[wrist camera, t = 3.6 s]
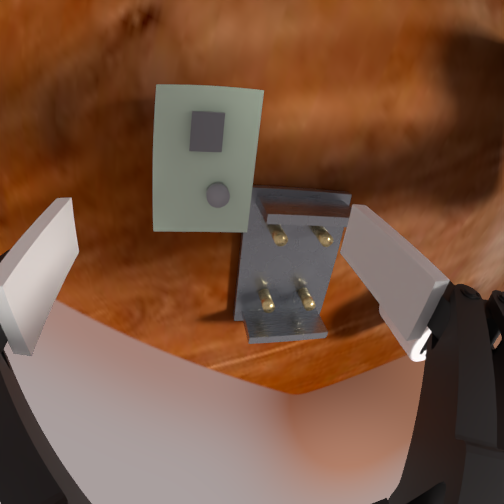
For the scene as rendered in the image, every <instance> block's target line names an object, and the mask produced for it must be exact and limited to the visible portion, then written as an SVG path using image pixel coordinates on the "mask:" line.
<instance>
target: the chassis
mask: <svg viewBox="0 0 504 504" xmlns="http://www.w3.org/2000/svg"><path fill="white" fill-rule="evenodd" d="M351 196H352V195H351V194H350V193H349V192H345V191H335V190H323V189H312V188H299V187H285V186H269V185H253V186H252V195H251V203H250V212H249V221H248V229H247V232H242V233H241V243H240V252H239V262H238V271H237V281H236V291H235V301H234V311H233V318H234V321H243V322H244V326H245V330H246V335H247V339H248V343H249V344H252V343H269V342H283V341H296V340H307V339H318V338H326V336H327V334H328V331H327V329H326V327H325V325H324V323H323V321H322V319H321V317H320V315H319V314H320V311H321V308H322V304H323V301H324V298H325V294H326V291H327V288H328V284H329V281H330V277H331V274H332V270H333V267H334V263H335V259H336V256H337V252H338V248H339V244H340V241H341V237H342V233H343V229H344V227H347V225H348V221H349V217H350V213H351V209H352V208H351V207H349V204H350V200H351Z"/></svg>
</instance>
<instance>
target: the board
mask: <svg viewBox="0 0 504 504" xmlns="http://www.w3.org/2000/svg"><path fill="white" fill-rule="evenodd" d="M263 95H264V90H256V89H246V88H235V87H222V86H205V85H172V84H156V96H155V113H154V134H153V231H174V232H247V229H248V221H249V212H250V203H251V195H252V186H253V178H254V170H255V161H256V153H257V145H258V136H259V128H260V120H261V112H262V103H263Z"/></svg>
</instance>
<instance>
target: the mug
mask: <svg viewBox="0 0 504 504" xmlns="http://www.w3.org/2000/svg"><path fill="white" fill-rule="evenodd" d="M379 313H380V315H381V317H382V318H383V320H384V321H385V323H386V324H387V325H388V327H389V328H390V330H391V331H392V333H393V334H394V336H395V337H396V339H397V340H398V341H399V343H400V344H401V346H402V347H403V349H404V350H405V352H406V353H407V355H408V356H409V358H410V359H411V360H412V361H415V362H419V361H423V360H425V359H426V356H425V355H426V350H425V351H424V352H423V353H422V354H420V351H421V349H422V348H423V346H424V344H425V343H426V341H427V339H428V337H429V336H430V334H431V330H430V329H429V328H428V326H427V327H426V329H425V331H424V333H423V335H422V336H421V338H420V339H415V340H410V341H406V340H405V339H404V337H403V336H402V334H401V333H400V332H399V330H398V329H397V327H396V326H395V325H394V323H393V322H392V320H391V319H390V318H389V316H388V315H387V314H386V312H385V311H384V309H383V308H382V307H381V305H379Z"/></svg>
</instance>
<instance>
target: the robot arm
mask: <svg viewBox="0 0 504 504" xmlns="http://www.w3.org/2000/svg"><path fill="white" fill-rule="evenodd" d="M78 253H79V248H78V242H77V236H76V229H75V222H74V215H73V206H72V197H71V198H56V200H55V201H54V202H53V203H52V204H51V205H50V206H49V207H48V208H47V209H46V210H45V211H44V212H43V213H42V214H41V215H40V216H39V217H38V219H37V220H36V221H35V222H34V223H33V224H32V225H31V226H30V227H29V229H28V230H27V231H26V232H25V233H24V234H23V235H22V237H21V238H20V239H19V240H18V241H17V243H16V244H15V245H14V246H13V247H12V249H11V250H8V251H6V252H5V253H4V254H2V255H1V256H0V502H1V504H91V502H90V501H89V500H88V499H87V497H86V496H85V495H84V493H83V492H82V491H81V489H80V488H79V487H78V485H77V484H76V483H75V481H74V480H73V478H72V477H71V476H70V474H69V473H68V471H67V470H66V468H65V467H64V465H63V464H62V462H61V461H60V459H59V458H58V456H57V455H56V453H55V451H54V450H53V448H52V446H51V445H50V443H49V441H48V440H47V438H46V436H45V435H44V433H43V431H42V430H41V427H40V426H39V424H38V422H37V420H36V418H35V416H34V415H33V413H32V411H31V409H30V407H29V405H28V403H27V401H26V399H25V397H24V394H23V392H22V390H21V388H20V386H19V384H18V381H17V379H16V377H15V374H14V372H13V370H12V367H11V365H10V362H9V360H8V357H7V355H6V353H5V351H4V347H5V345H6V343H7V341H8V343H9V345H10V347H11V349H12V351H13V353H14V354H20V355H27V356H32V354H33V351H34V349H35V346H36V343H37V341H38V339H39V336H40V334H41V331H42V329H43V326H44V324H45V322H46V319H47V317H48V315H49V312H50V310H51V308H52V306H53V303H54V301H55V299H56V297H57V295H58V293H59V291H60V289H61V287H62V284H63V282H64V280H65V278H66V276H67V274H68V272H69V270H70V268H71V266H72V265H73V263H74V261H75V259H76V257H77V255H78ZM340 253H341V255H342V256H343V257H344V258H345V260H346V261H347V262H348V263H349V265H350V266H351V267H352V269H353V270H354V271H355V272H356V274H357V275H358V276H359V278H360V279H361V280H362V282H363V283H364V284H365V285H366V287H367V288H368V289H369V291H370V292H371V293H372V295H373V296H374V297H375V299H376V300H377V301H378V303H379V304H380V305H381V307H382V308H383V309H384V311H385V312H386V314H387V315H388V316H389V318H390V319H391V320H392V322H393V323H394V325H395V326H396V327H397V329H398V330H399V332H400V333H401V334H402V336H403V337H404V339H405V340H406V341H410V340H415V339H420V338H421V336H422V335H423V333H424V331H425V329H426V327H427V326H428V328H429V329H430V330H431V334H430V336H429V337H428V339H427V341H426V343H425V344H424V346H423V348H422V349H421V351H420V354H422V353H423V352H424V351H425V350H426V355H425V356H426V359H425V367H424V375H423V382H422V388H421V394H420V400H419V406H418V412H417V416H416V421H415V426H414V431H413V435H412V439H411V444H410V448H409V452H408V455H407V459H406V463H405V467H404V470H403V474H402V477H401V480H400V483H399V485H398V487H397V488H396V490H395V491H394V492H393V493H392V495H391V496H390V498H389V500H387V498H385V499H383V500H380V501H378V502H375V503H372V504H504V292H501V291H497V290H495V291H493V292H492V294H491V296H490V298H489V300H483V299H482V298H481V296H480V294H479V293H478V292H477V291H475V290H474V289H473V288H471V287H469V286H467V285H464V284H457V285H454V284H453V283H452V282H451V281H450V280H449V279H448V278H447V277H446V276H445V275H444V274H443V273H442V272H441V271H440V270H439V269H438V268H437V267H436V266H434V265H433V264H432V263H431V262H430V261H429V260H428V259H427V258H426V257H425V256H424V255H423V254H422V253H420V252H419V251H418V250H417V249H416V248H415V247H414V246H413V245H412V244H411V243H409V242H408V241H407V240H406V239H405V238H404V237H403V236H401V235H400V234H399V233H398V232H397V231H396V230H395V229H393V228H392V227H391V226H390V225H389V224H388V223H386V222H385V221H384V220H383V219H382V218H380V217H379V216H378V215H377V214H376V213H374V212H373V211H372V210H371V209H369V208H368V207H367V206H366V205H357V204H352V209H351V213H350V217H349V221H348V225H347V229H346V233H345V237H344V240H343V244H342V248H341V252H340ZM500 333H501V336H502V340H501V342H500V344H499V345H498V346H497V348H496V349H495V348H494V346H493V344H494V342H495V341H496V339H497V338H498V336H499V335H500Z"/></svg>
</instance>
